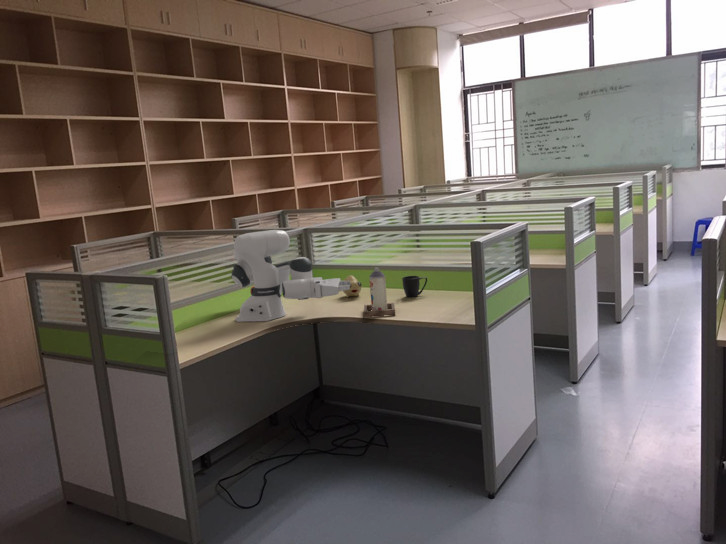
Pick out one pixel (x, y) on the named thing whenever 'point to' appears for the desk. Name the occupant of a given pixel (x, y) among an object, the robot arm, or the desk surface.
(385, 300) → the aerosol can
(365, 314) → the frame
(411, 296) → the mug
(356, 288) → the egg character toy
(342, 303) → the desk surface
